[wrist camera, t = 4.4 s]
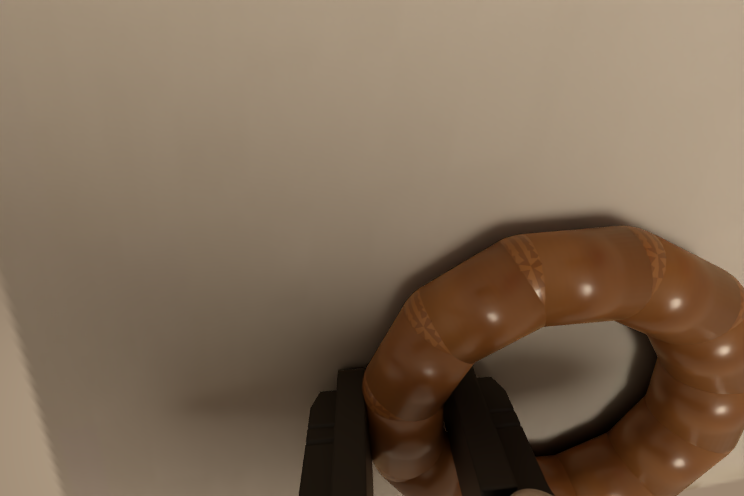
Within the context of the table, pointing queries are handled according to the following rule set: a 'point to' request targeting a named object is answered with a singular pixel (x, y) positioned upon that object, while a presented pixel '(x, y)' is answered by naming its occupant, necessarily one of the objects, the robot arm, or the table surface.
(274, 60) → the table surface
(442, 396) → the ring
